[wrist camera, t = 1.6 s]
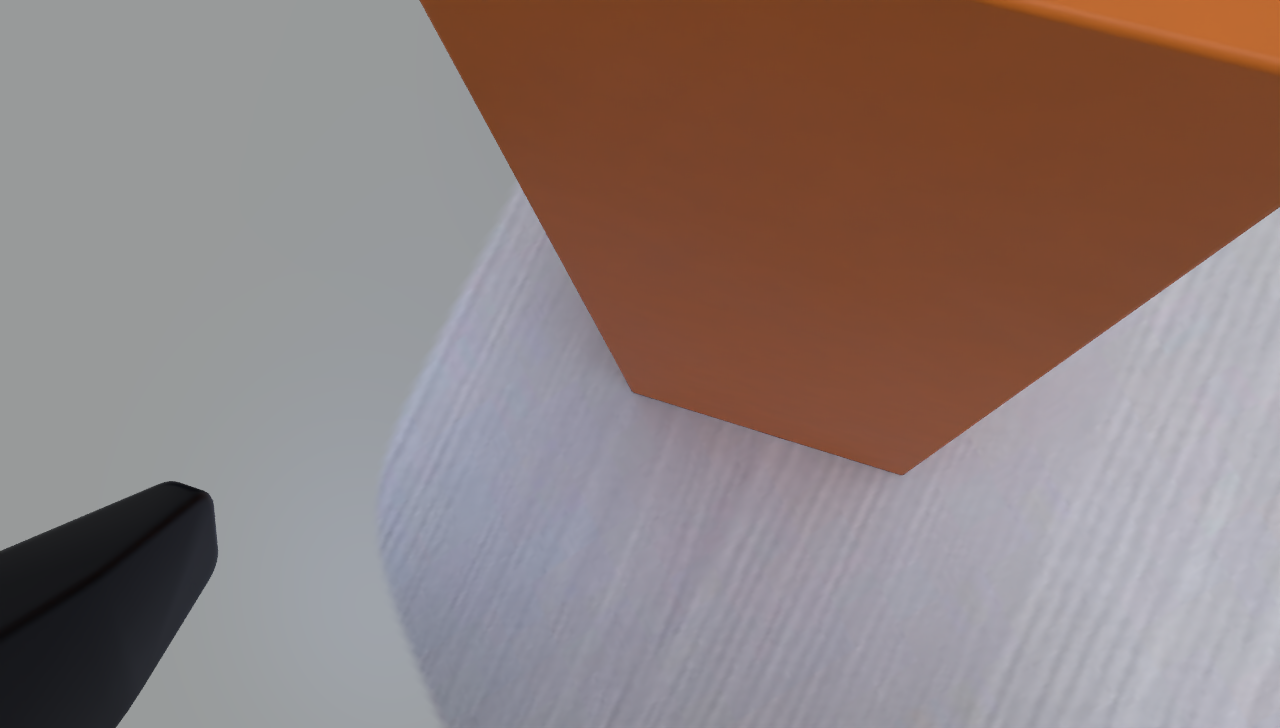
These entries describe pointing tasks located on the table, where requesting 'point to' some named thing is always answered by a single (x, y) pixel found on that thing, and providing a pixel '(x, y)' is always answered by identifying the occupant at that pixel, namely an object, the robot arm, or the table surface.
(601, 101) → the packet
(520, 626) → the table surface
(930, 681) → the table surface
